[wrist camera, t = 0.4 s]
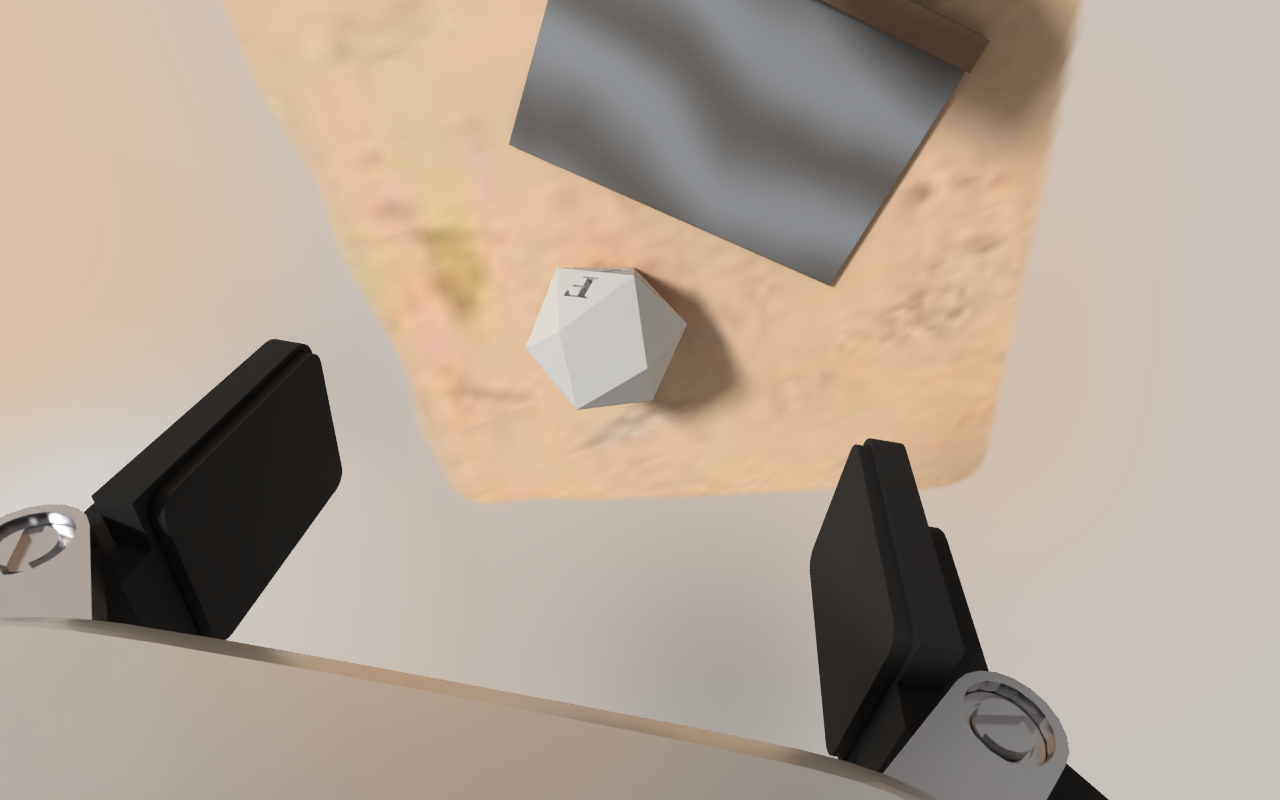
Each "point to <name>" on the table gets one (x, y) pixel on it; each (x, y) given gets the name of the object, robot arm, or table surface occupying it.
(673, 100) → the mat
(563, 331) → the die
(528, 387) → the table surface
